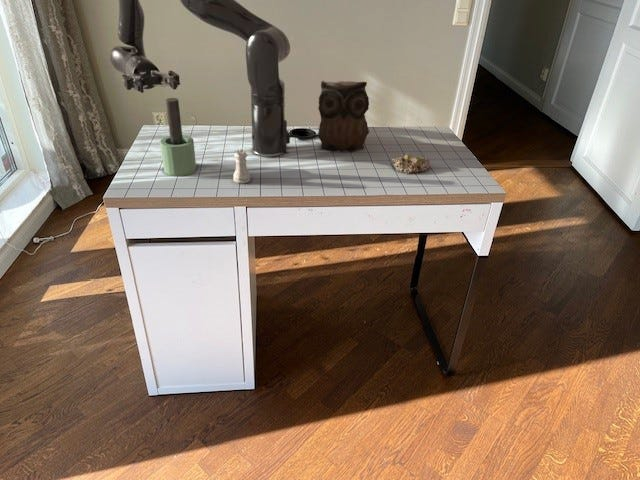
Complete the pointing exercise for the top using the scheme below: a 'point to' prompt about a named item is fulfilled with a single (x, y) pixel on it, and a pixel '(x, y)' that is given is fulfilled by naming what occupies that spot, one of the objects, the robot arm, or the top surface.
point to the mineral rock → (410, 164)
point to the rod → (174, 121)
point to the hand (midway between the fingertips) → (158, 87)
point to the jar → (178, 156)
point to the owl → (343, 115)
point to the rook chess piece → (241, 168)
